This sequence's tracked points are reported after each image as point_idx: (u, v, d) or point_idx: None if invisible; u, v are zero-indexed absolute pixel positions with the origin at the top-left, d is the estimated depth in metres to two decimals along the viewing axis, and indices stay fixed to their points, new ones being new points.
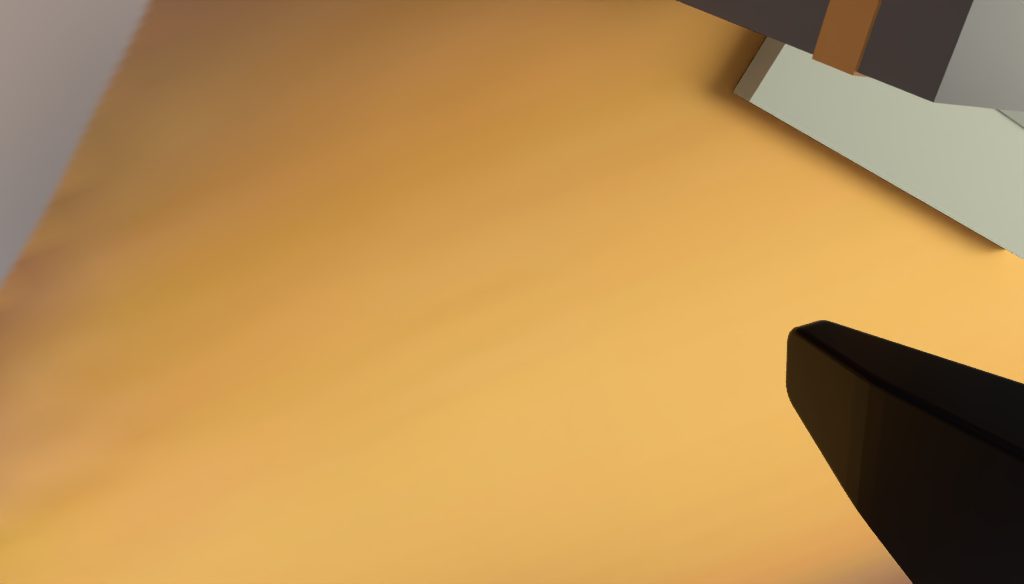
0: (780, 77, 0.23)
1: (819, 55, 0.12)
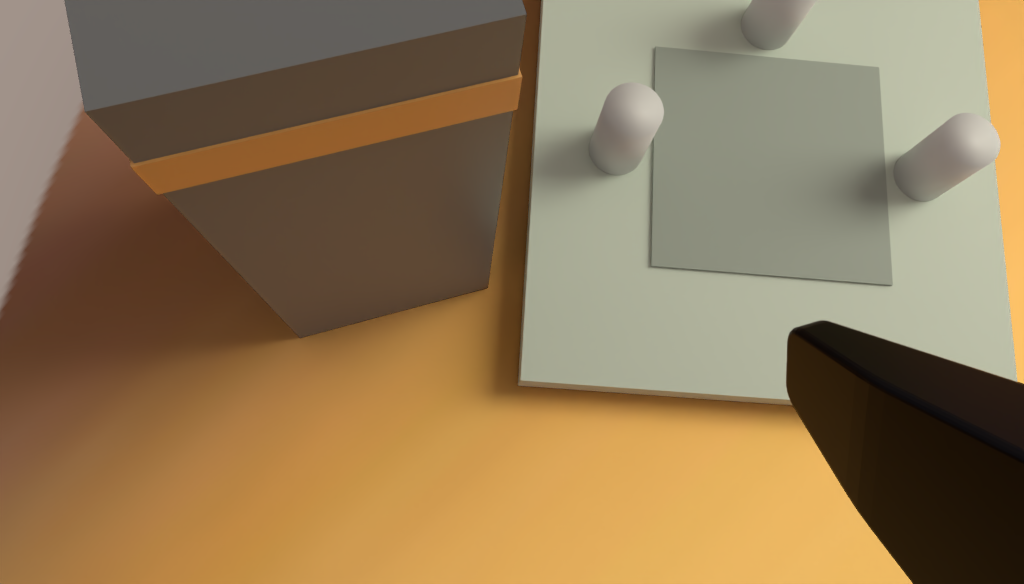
0: (539, 345, 0.22)
1: None
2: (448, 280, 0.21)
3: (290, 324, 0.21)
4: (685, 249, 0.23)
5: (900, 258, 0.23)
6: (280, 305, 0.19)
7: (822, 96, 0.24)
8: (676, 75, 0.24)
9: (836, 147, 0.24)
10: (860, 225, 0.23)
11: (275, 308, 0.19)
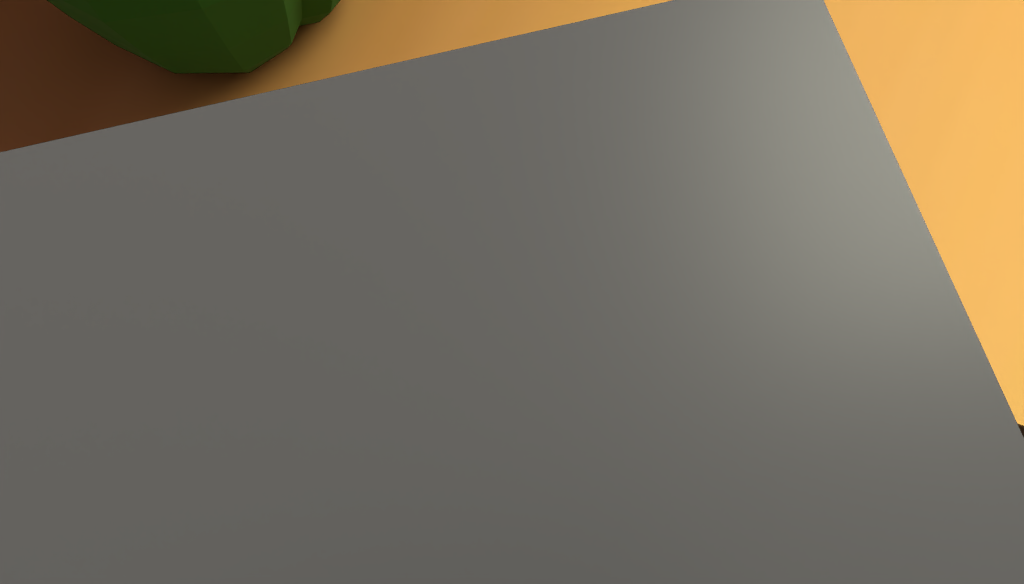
0: None
1: None
2: None
3: None
4: None
5: None
6: None
7: None
8: None
9: None
10: None
11: None
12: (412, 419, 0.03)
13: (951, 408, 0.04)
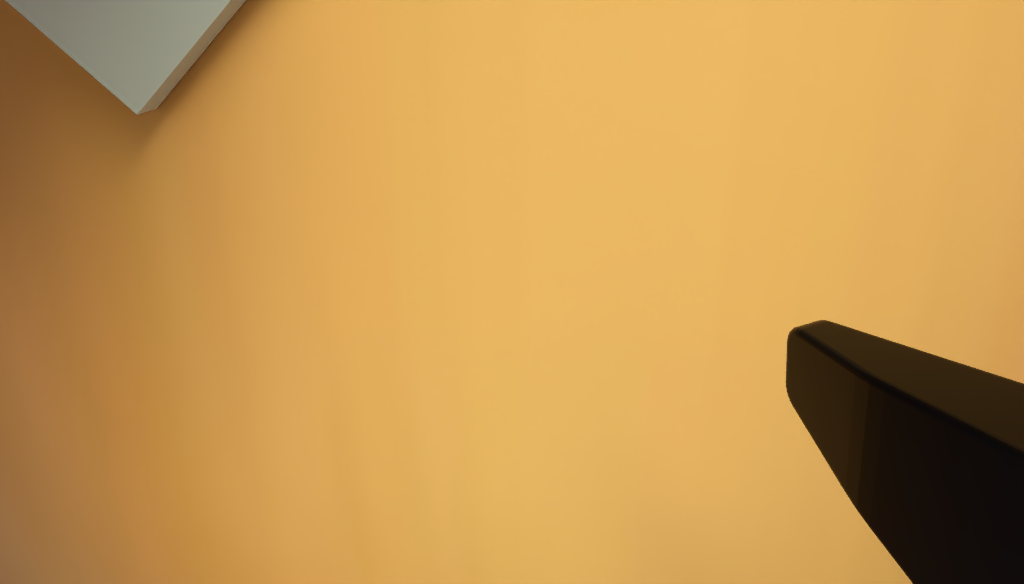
0: (111, 65, 0.17)
1: None
2: None
3: None
4: None
5: None
6: None
7: None
8: None
9: None
10: None
11: None
12: None
13: None
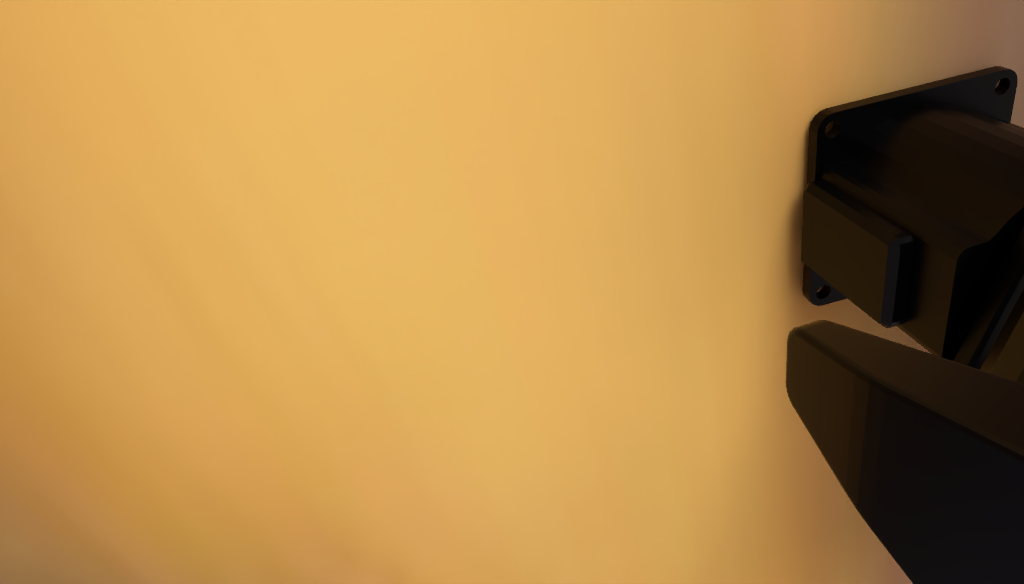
0: None
1: None
2: None
3: None
4: None
5: None
6: None
7: None
8: None
9: None
10: None
11: None
12: None
13: None
